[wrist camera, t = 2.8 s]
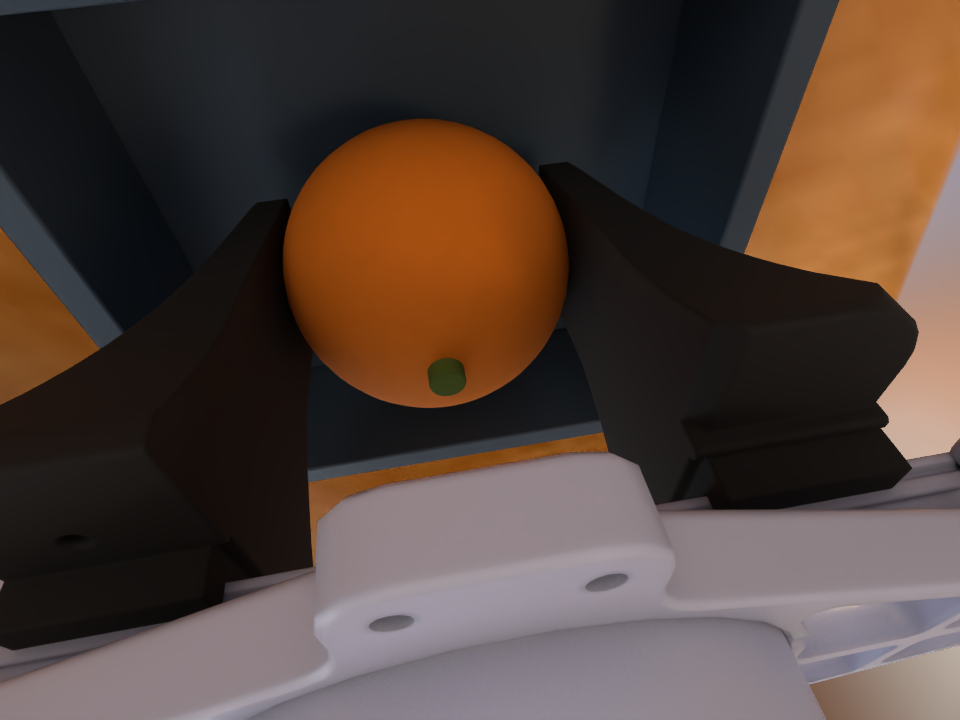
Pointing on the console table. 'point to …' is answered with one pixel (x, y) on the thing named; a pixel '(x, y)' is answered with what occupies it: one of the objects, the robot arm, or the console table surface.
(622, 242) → the robot arm
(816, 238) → the console table surface
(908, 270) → the console table surface
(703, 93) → the dark gray tray
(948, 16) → the console table surface
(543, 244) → the orange
